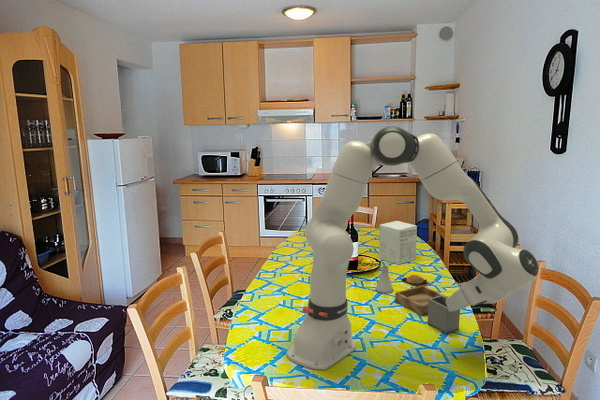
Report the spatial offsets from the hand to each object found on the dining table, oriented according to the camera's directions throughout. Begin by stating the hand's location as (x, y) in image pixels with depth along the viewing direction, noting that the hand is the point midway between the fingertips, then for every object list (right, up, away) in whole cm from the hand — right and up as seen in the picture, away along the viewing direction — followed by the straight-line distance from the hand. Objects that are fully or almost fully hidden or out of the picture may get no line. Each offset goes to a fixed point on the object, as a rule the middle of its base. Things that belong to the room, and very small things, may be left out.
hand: (460, 305), depth 127 cm
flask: (-16, -4, +38) cm, 41 cm away
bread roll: (-1, -2, +45) cm, 45 cm away
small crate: (-3, -9, +8) cm, 12 cm away
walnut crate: (-5, -6, +24) cm, 25 cm away
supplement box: (-2, +4, +74) cm, 74 cm away
